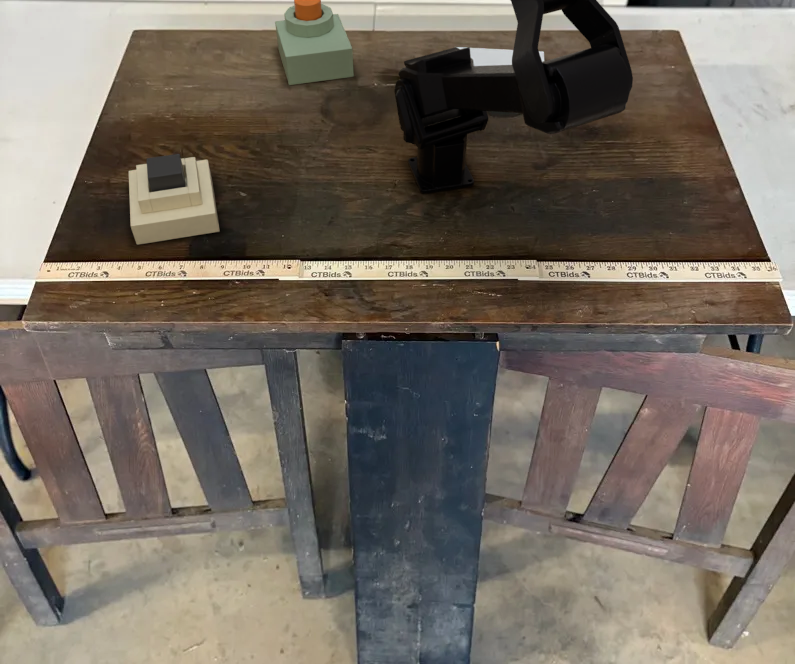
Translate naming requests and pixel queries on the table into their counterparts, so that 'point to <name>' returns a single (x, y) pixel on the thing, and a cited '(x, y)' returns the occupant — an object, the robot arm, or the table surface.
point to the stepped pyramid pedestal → (173, 205)
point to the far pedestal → (314, 48)
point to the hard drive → (493, 56)
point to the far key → (308, 9)
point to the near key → (165, 172)
